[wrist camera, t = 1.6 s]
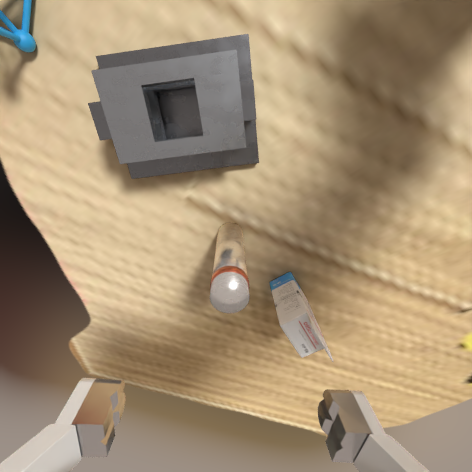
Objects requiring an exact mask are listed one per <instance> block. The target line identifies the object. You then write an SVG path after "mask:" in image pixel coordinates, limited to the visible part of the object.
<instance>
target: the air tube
mask: <svg viewBox="0 0 472 472" xmlns="http://www.w3.org/2000/svg"><path fill="white" fill-rule="evenodd" d="M210 290H211V291H210V301H211V304H212V305H213V307H214V308H216V309H217V310H219V311H221V312H224V313H235V312H238V311H241V310H242V309H244V308H245V307H246V306H247V304H248V302H249V280H248V276H247V268H246V259H245V249H244V239H243V231H242V229H241V227H240V226H239V225H238V224H236V223H232V222H229V223H225V224H223V225H222V226H221V227H220V228H219V230H218V236H217V244H216V252H215V260H214V267H213V275H212V278H211V284H210Z"/></svg>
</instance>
